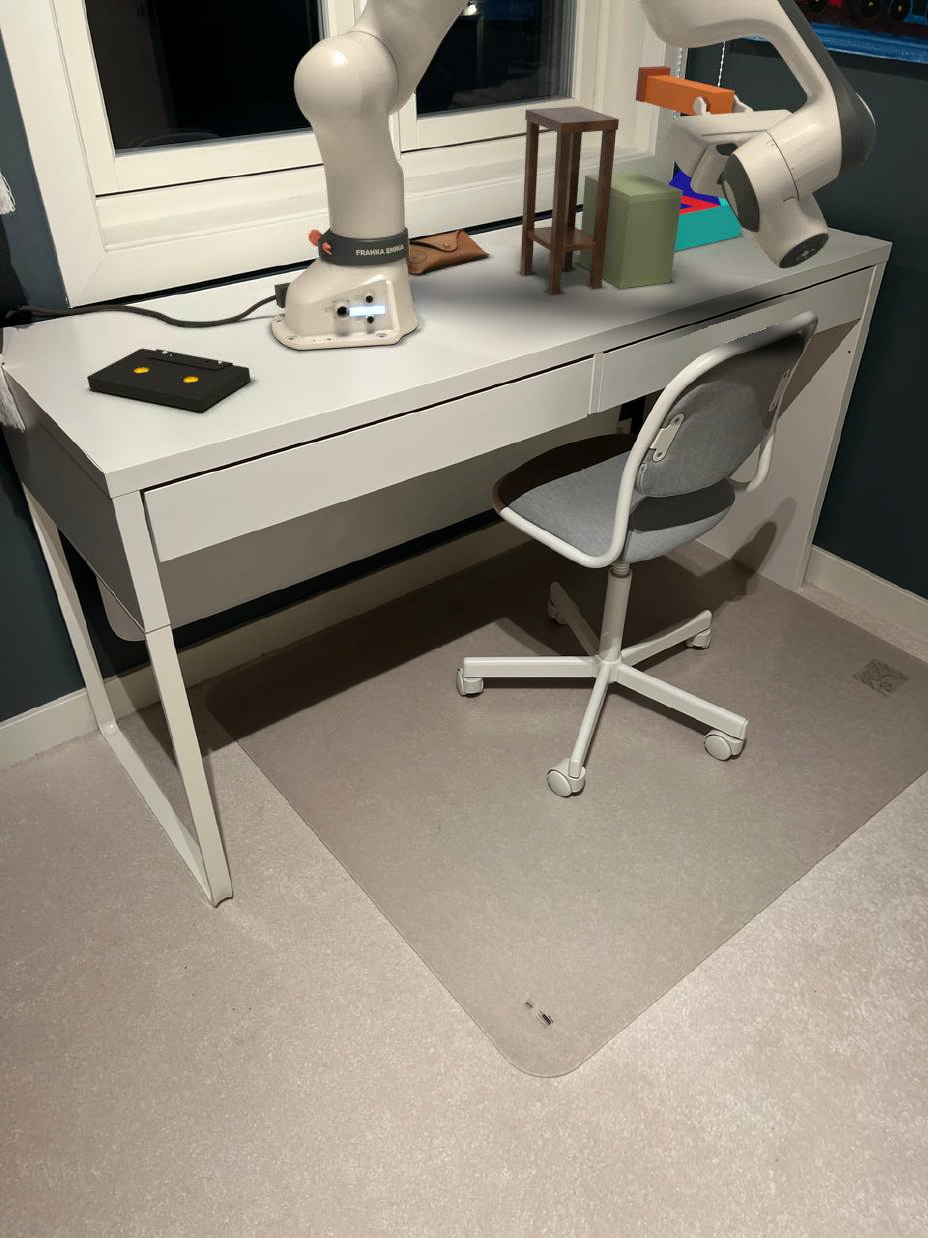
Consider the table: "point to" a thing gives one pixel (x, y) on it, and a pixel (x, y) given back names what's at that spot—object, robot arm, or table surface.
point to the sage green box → (634, 229)
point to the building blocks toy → (702, 216)
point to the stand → (566, 191)
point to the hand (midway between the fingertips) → (713, 99)
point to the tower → (679, 92)
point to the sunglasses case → (442, 252)
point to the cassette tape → (170, 378)
